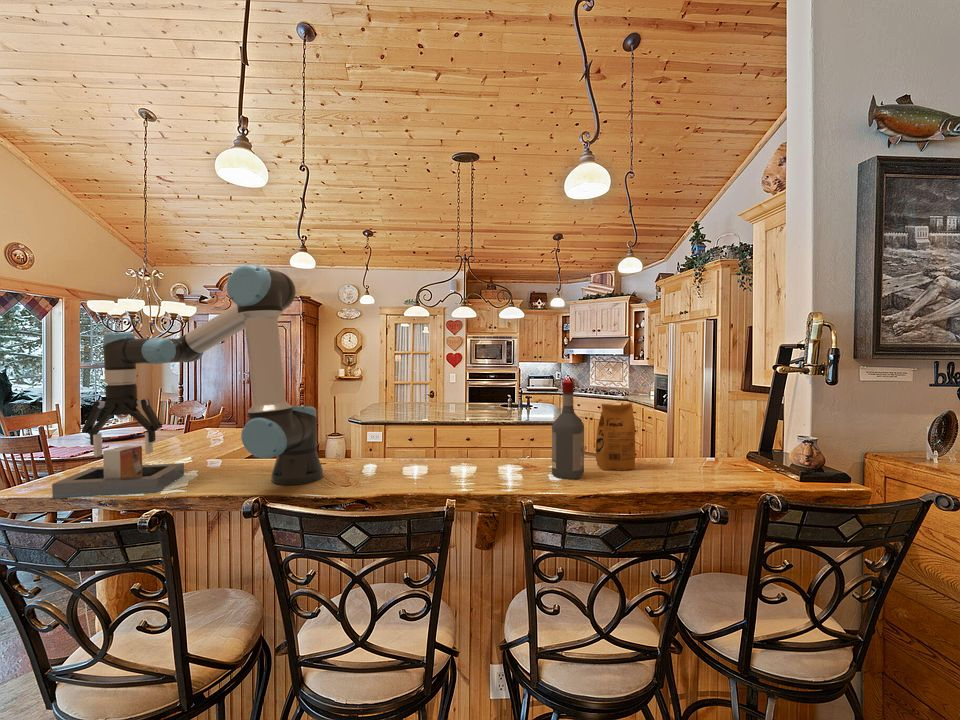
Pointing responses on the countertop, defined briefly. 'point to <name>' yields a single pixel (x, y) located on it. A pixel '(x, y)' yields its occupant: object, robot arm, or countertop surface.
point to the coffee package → (616, 438)
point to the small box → (123, 462)
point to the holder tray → (117, 482)
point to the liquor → (568, 440)
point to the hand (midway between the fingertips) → (123, 454)
